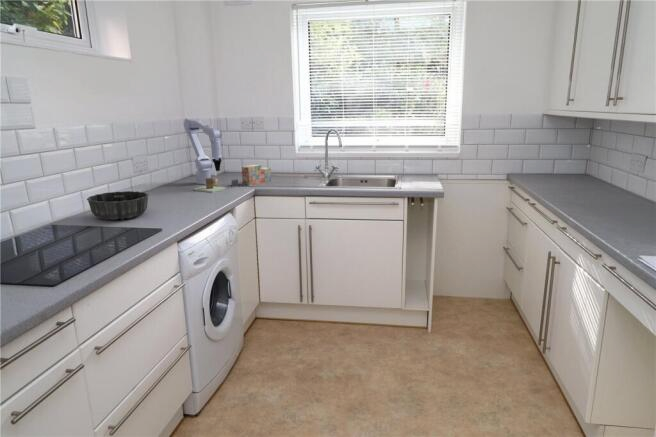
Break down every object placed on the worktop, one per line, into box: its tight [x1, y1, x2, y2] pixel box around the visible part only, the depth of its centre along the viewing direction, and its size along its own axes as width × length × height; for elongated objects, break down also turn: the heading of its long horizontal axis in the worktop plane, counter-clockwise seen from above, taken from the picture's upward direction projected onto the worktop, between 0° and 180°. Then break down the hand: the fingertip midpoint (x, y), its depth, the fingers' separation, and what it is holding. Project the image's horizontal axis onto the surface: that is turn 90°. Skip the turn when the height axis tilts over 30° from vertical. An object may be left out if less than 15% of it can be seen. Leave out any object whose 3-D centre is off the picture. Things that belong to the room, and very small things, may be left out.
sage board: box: [192, 185, 227, 193], centre depth 272 cm, size 16×12×1 cm
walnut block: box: [205, 177, 214, 189], centre depth 271 cm, size 4×4×6 cm
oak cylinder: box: [212, 178, 219, 187], centre depth 282 cm, size 4×4×5 cm
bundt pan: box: [86, 190, 150, 221], centre depth 207 cm, size 26×26×10 cm
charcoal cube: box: [230, 178, 239, 187], centre depth 285 cm, size 4×4×4 cm
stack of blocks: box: [241, 164, 272, 186], centre depth 295 cm, size 21×6×12 cm, turn 145°
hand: (217, 170), depth 281 cm, fingers open, 7 cm apart
